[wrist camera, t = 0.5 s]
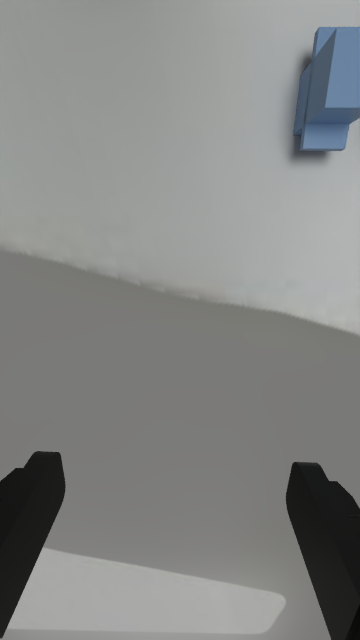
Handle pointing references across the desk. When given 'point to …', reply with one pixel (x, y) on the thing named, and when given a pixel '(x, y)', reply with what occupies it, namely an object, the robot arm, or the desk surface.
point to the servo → (329, 90)
